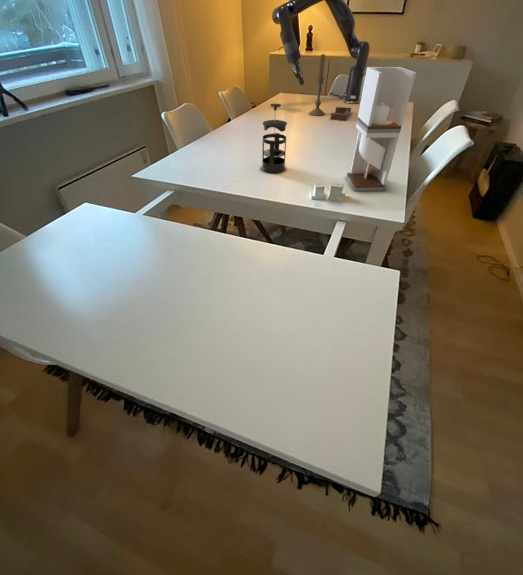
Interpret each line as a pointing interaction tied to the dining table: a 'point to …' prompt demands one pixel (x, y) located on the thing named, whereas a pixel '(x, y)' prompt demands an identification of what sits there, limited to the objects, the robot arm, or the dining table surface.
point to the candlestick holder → (319, 89)
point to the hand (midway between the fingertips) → (302, 84)
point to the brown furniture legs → (342, 116)
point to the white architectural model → (379, 125)
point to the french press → (274, 146)
